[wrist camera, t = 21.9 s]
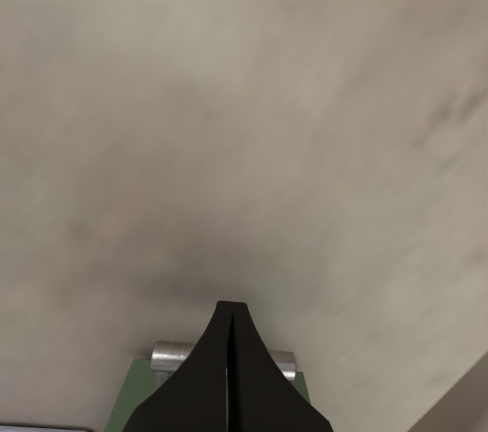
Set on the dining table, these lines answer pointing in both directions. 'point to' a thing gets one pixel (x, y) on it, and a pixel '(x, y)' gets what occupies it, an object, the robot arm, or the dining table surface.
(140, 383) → the green drawer
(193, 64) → the dining table surface
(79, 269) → the dining table surface
